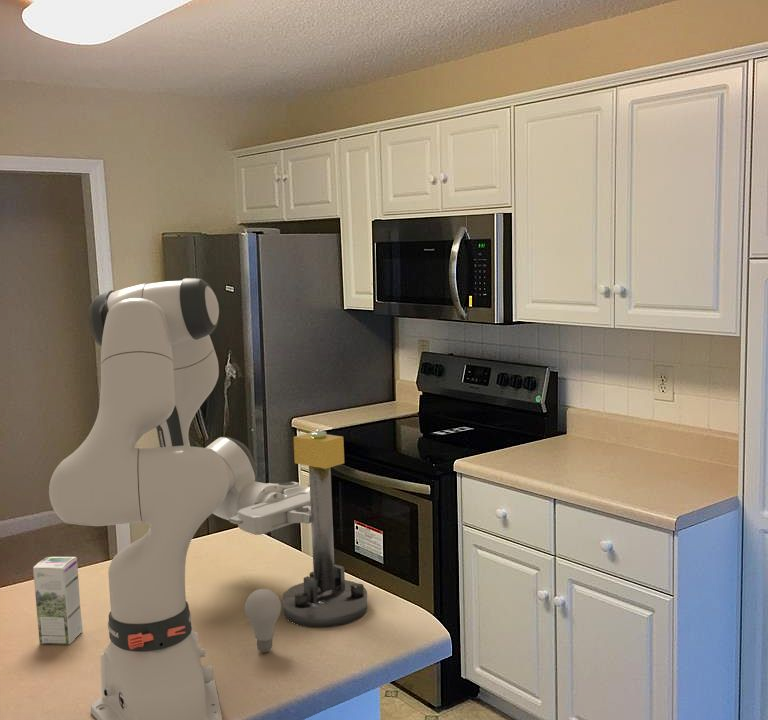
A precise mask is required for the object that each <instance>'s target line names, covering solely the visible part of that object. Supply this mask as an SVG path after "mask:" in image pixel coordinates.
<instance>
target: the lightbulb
mask: <svg viewBox="0 0 768 720" xmlns="http://www.w3.org/2000/svg"><path fill="white" fill-rule="evenodd" d="M281 611H282V603H281V600H280V598H279V596H278V595H277V594H276V593H275V592H274V590H273V591H272V590H271V589H268V588H260V589H256V590H254V591H253V592H251V593H250V594H249V595H248V597H247V598H246V600H245V603H244V613H245V616H246V618H247V620H248V622H249V623H250V624H251V626H252V629H253V633H254V638H255V639H256V648H257V650H258V651H259V652H261V653H263V654H265V653H268V652H269V651H271V650H272V649H273V637H274V633H275V632H274V631H275V626H276V623H277V621H278V618H279V617H280V614H281Z"/></svg>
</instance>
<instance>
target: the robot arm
mask: <svg viewBox="0 0 768 720" xmlns="http://www.w3.org/2000/svg"><path fill="white" fill-rule="evenodd" d="M87 315H88V316H87V317H88V320H87V321H88V326H89V330H90V333H91V335H92V338H93V340H94V341H95V342H96V344H97V345H98V346H100V347H101V350H100V392H99V393H100V395H99V405H98V411H97V416H96V419H95V422H94V423H93V426H92V428H91V430H90V432H89V433H88V435H87V436H86V438H85V439H84V440H83V442H82V443H81V444H80V445H79V446H78V447H77V448H76V449H75V450H74V451H73V452H72V453H71V454H70V455H68V456H67V457H65V458H64V459H63V460H62V461H61V462H59V463H58V465H57V466H56V467H55V469H54V471H53V473H52V475H51V477H50V481H49V486H48V495H49V501H50V505H51V507H52V509H53V511H54V512H55V514H56V515H57V516H58V518H59V519H61V520H62V521H63V522H64V523H65V524H71V525H79V526H89V527H91V526H92V527H104V526H113V525H114V526H116V525H125V524H126V525H127V524H134V523H135V524H136V523H137V524H138V523H143V524H147V525H149V529H148V530H147V532H146V533H145V534H143V536H142V537H140V538H139V539H137V540H135V541H134V542H131V543H129V544H128V545H127V546H125V547H124V548H122V549H121V550H119V551H118V552H117V553H116V554H115V556H114V557H113V558H112V560H111V562H110V564H109V566H108V573H107V574H108V588H109V600H110V602H109V603H110V612H109V613H108V621H107V628H108V633H109V639H110V642H109V644H108V645H107V647H106V648H105V650H104V651H103V652H102V653H101V654H100V680H101V681H100V685H101V687H100V688H101V689H100V690H101V697H99V698H97V699H96V700H95V701H93V702H92V703H91V705H90V714H91V715H92V716H93V717H94V719H96V720H223V715H222V710H221V705H220V699H219V695H218V694H219V693H218V691H217V690H218V689H217V685H216V680H215V673H214V666H213V664H208V665H207V664H206V665H202V662H201V659H202V658H205V657H206V655H207V654H206V648H205V647H202V648H201V647H200V648H199V635H198V632H196V631H194V630H193V627H192V615H191V610H190V608H189V607H190V606H189V603H188V601H187V600H186V599H187V598H186V562H187V556H188V551H189V547H190V544H191V543H192V540H193V538H194V536H195V534H196V533H197V531H198V529H199V528H200V527H201V525H203V523H204V522H205V521H206V519H207V518H209V517H210V516H211V515H212V514H213V515H215V516H216V517H217V518H218V517H219V518H221V519H223V520H227V521H229V523H232V524H235V525H237V526H238V528H239V529H240V530H242V531H243V532H245V533H249V534H252V535H259V536H261V535H265V534H267V533H271V532H273V531H276V530H278V529H281V528H284V527H286V526H290V525H292V524H306V525H308V524H311V505H310V486H305V485H304V486H303V485H302V486H300V483H299V482H296V481H288V482H281V483H271V482H268V483H267V482H266V483H264V482H260V481H256V478H257V477H256V468H255V462H254V458H253V455H252V453H251V451H250V449H249V448H248V447H247V446H246V445H245V444H244V443H242V442H241V441H239V440H238V439H235V438H232V437H229V436H219V437H217V439H215V440H214V441H213V442H211V443H210V444H209V445H207V446H206V447H201V446H191V443H190V439H189V432H190V427H191V423H192V421H193V419H194V417H195V416H196V414H197V412H198V411H199V409H200V407H201V406H202V405H203V403H204V402H205V401H206V400H207V398H208V397H209V396H210V395H211V393H212V392H213V390H214V388H215V387H216V384H217V382H218V379H219V376H220V375H219V374H220V371H219V370H220V369H219V368H220V367H219V360H218V356H217V354H216V350H215V348H214V347H215V346H214V344H213V341H212V339H211V336H210V335H211V334H213V332H214V331H215V329H216V328H217V327H218V325H219V324H218V323H219V315H220V308H219V301H218V299H217V296H216V294H215V292H214V290H213V288H212V286H211V284H209V283H208V282H206V281H205V280H204V279H201V278H194V277H192V278H190V277H188V278H187V277H185V278H183V279H182V280H167V281H157V282H151V283H149V282H144V283H140V284H136V285H132V286H128V287H124V288H121V289H118V290H108V291H107V292H102V294H99V295H97V296H95V298H94V299H93V301H92V302H91V303H90V305H89V307H88V314H87ZM155 428H156V434H157V439H158V444H159V447H145V448H140V447H136V445H137V443H138V441H139V440H140V438H142V437H143V436H144V435H145V434H146V433H148V432H150V431H152V430H154V429H155Z"/></svg>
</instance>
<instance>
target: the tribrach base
mask: <svg viewBox="0 0 768 720" xmlns="http://www.w3.org/2000/svg"><path fill="white" fill-rule="evenodd" d="M334 567H335V578H336V579H337V580H338V582H339V584H338V586H337V587H335V588H334V589H332V590H329V591H326V592H323V593H321V594H319V595H317V579H315V578H314V573H313V571H311V572H310V573H309V576H305V577H303V582H300V583H298V584H295V585H293V586H291V587H290V588H288V589H287V590H286V591H285V592H284V593H283V595H282V611H283V613H282V614H283V617H284V616H285V617H284V618H285V620H287V621H288V620H289V621H288V622H290V623H291V622H293V623H292V624H294V623H295V624H294V625H296V624H298V625H297V626H300V625H301V626H300V627H304V626H305V627H306V628H313V629H314V628H315V629H318V628H319V629H325V628H327V629H328V628H335V627H341V626H345V625H348V624H351V623H355V622H357V621H358V620H360V619H361V618H363V617H365V615H366V614H367V612H368V591H367V589H366V588H365V586H364V584H363V583H358V582H355V581H351V580H346V579H345V578H346V577H345V566H342V565H339V564H334Z"/></svg>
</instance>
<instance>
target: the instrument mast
mask: <svg viewBox="0 0 768 720" xmlns="http://www.w3.org/2000/svg"><path fill="white" fill-rule="evenodd" d="M344 443H345V442H344V436H342V435H341V436H340V435H333V434H327V431H324V430H320V429H316V430H315V431H311V432H308V433H303V434H300V435H296V436H293V455H294V456H293V457H294V464H297V465H303V466H308V476H309V480H308V481H309V487H310V505H311V523H310V524H311V525H310V526H311V527H310V528H311V545H312V550H311V551H312V572H313V573H314V578H315V579H317V595H319V594H321V593H323V592H326V591H329V590H332V589H334V588H335V587H337V586H338V584H339V582H338V580H337V579H336V578H335V567H334V565H335V547H334V546H335V545H334V526H333V525H334V524H333V523H334V521H333V497H332V472H331V468H333V467H336V466H340V465H343V464H345V447H344V445H345V444H344Z"/></svg>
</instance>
